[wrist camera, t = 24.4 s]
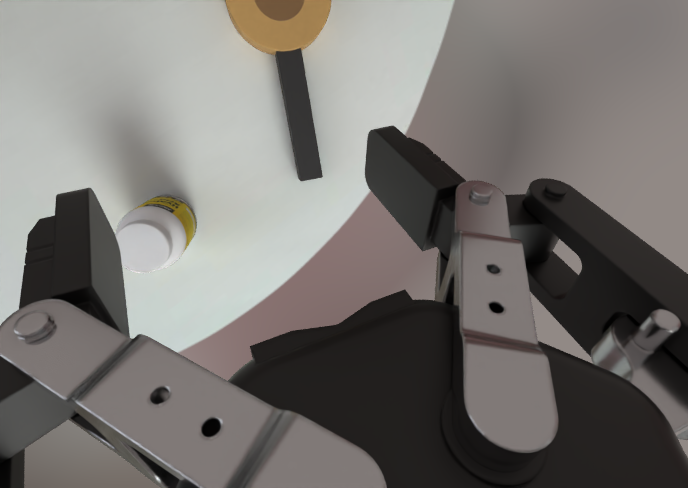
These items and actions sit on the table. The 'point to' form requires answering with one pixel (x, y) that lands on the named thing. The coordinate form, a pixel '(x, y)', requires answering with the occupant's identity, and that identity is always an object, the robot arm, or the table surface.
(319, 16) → the disc with black handle
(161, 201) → the supplement bottle
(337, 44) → the table surface
